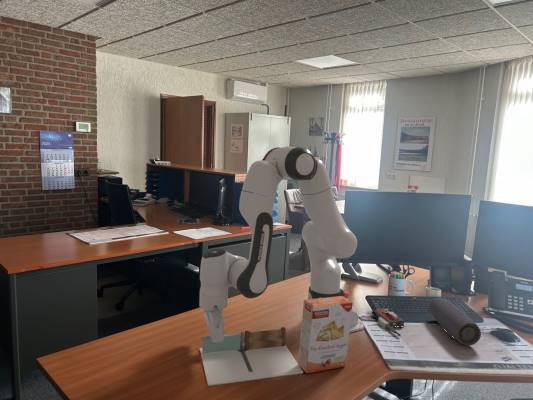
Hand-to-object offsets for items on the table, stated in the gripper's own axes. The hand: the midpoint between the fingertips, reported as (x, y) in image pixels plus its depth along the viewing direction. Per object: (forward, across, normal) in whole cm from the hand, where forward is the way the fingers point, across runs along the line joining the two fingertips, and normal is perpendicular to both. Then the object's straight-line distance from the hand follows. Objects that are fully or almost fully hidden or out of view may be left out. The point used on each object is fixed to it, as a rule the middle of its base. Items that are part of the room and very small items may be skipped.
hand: (212, 341), depth 124 cm
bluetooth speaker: (+3, -5, -88) cm, 88 cm away
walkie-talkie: (+4, +5, -69) cm, 69 cm away
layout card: (+3, -8, -10) cm, 13 cm away
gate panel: (+2, -2, -3) cm, 4 cm away
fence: (+3, -2, -17) cm, 17 cm away
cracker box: (+3, -16, -31) cm, 35 cm away
